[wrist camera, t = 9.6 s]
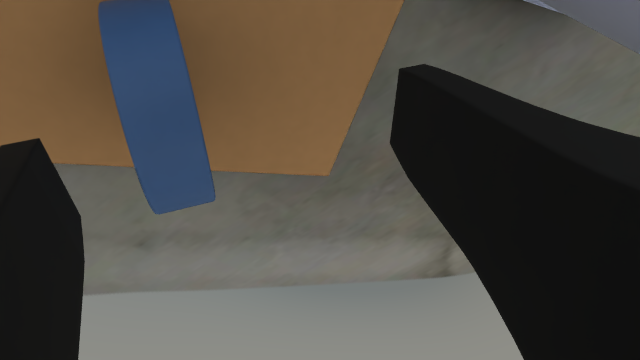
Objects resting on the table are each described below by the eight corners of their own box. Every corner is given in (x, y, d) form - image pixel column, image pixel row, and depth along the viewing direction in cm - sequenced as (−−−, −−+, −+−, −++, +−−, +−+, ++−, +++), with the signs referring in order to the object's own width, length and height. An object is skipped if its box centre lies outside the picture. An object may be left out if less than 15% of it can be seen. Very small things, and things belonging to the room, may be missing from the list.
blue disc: (157, -40, 16) (188, 61, 11) (193, 123, 20) (225, 241, 16) (95, -33, 15) (100, 76, 10) (147, 132, 20) (167, 256, 15)
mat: (410, -26, 20) (414, -23, 19) (325, 171, 26) (328, 176, 25) (-284, -248, 10) (-294, -248, 10) (-161, 146, 16) (-166, 153, 16)
